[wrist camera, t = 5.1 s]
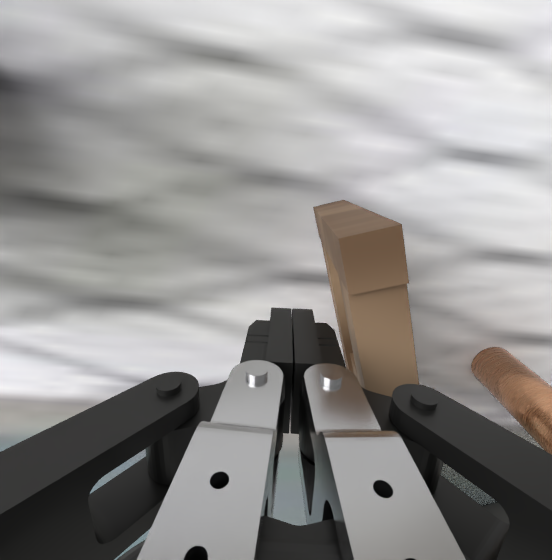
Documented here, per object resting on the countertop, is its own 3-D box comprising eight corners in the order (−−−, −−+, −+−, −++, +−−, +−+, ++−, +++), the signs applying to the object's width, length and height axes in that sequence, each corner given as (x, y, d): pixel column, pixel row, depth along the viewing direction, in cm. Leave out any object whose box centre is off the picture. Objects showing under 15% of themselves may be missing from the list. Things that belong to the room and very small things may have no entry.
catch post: (514, 374, 20) (654, 497, 12) (475, 385, 20) (587, 510, 13) (508, 342, 19) (653, 451, 12) (468, 353, 20) (582, 466, 12)
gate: (384, 436, 21) (448, 613, 13) (360, 440, 21) (407, 616, 13) (343, 199, 16) (401, 224, 8) (313, 207, 17) (338, 238, 8)
